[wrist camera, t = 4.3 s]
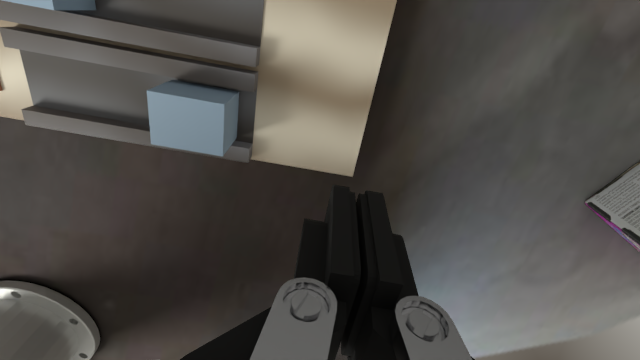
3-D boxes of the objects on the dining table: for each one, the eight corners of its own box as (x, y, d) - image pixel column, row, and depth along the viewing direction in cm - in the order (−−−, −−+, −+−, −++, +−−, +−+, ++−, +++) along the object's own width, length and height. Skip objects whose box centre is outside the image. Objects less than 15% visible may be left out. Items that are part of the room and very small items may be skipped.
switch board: (351, 164, 24) (353, 183, 21) (-41, 96, 22) (-91, 107, 20) (396, -24, 18) (407, -29, 16) (-122, -130, 17) (-207, -157, 14)
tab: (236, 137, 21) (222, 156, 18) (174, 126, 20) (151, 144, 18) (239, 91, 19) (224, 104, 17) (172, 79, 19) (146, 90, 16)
